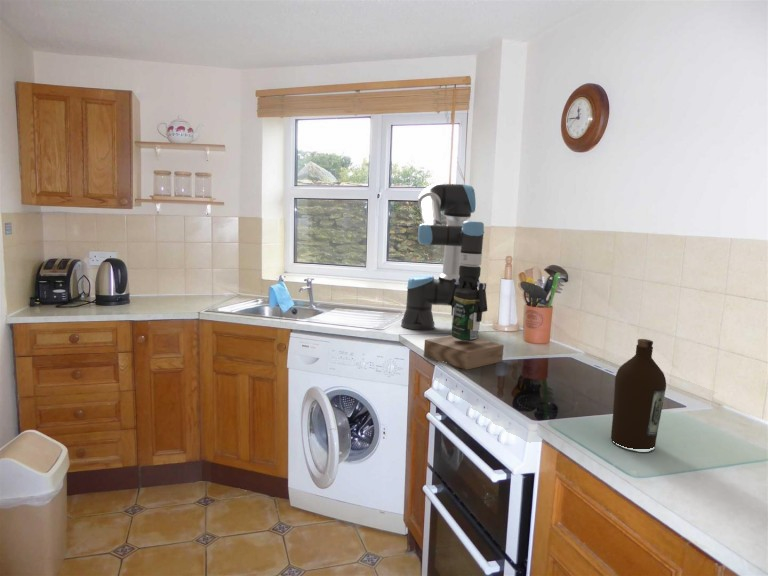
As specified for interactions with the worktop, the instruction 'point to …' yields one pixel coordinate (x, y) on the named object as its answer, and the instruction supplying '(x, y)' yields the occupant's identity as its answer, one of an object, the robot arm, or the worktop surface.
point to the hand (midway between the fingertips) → (465, 327)
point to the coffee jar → (464, 314)
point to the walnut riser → (463, 351)
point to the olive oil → (638, 399)
